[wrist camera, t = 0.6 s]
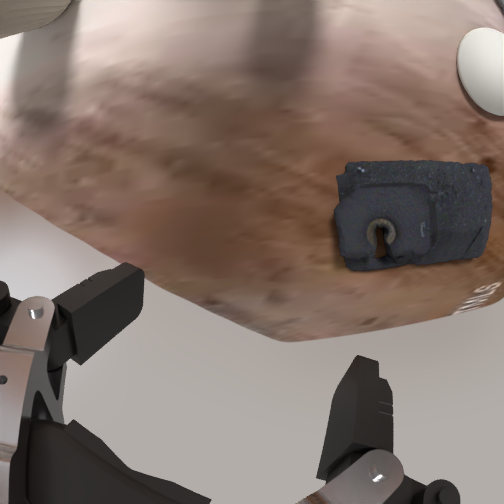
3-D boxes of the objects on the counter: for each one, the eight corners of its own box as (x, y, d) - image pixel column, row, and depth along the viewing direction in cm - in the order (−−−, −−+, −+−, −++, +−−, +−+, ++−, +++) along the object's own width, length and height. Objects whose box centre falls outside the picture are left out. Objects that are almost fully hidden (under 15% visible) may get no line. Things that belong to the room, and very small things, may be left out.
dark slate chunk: (477, 261, 35) (488, 280, 31) (337, 266, 42) (337, 288, 38) (492, 160, 27) (509, 172, 24) (329, 160, 34) (329, 173, 30)
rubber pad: (439, 44, 22) (442, 44, 21) (499, 18, 17) (502, 18, 16) (482, 127, 25) (485, 129, 25) (536, 98, 20) (539, 99, 19)
